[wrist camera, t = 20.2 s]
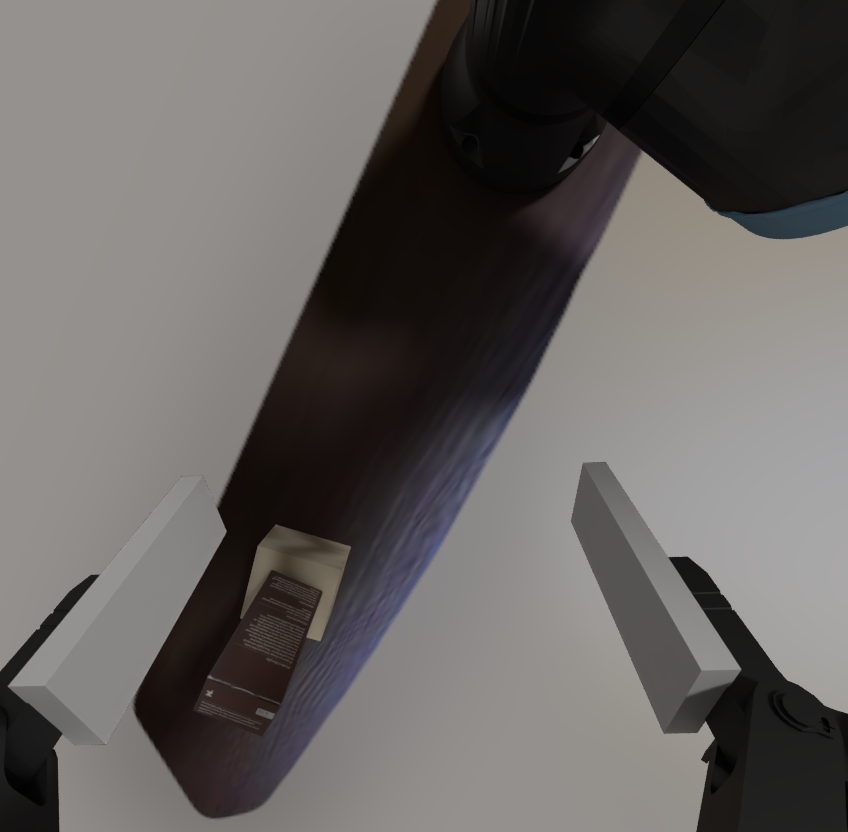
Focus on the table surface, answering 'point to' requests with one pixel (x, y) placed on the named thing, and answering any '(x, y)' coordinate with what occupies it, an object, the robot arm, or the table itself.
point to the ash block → (300, 568)
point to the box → (260, 656)
